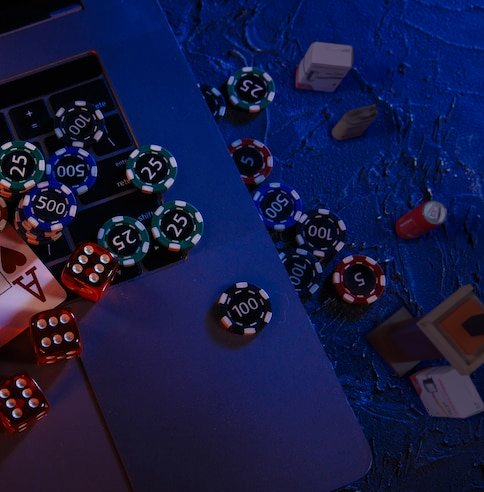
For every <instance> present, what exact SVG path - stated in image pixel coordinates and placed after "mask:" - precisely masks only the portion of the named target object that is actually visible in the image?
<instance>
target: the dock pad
mask: <svg viewBox="0 0 484 492" xmlns="http://www.w3.org/2000/svg"><path fill="white" fill-rule="evenodd" d="M474 289H475V288H474V286H473V285H472V284H471V283H468V284H465V285H462V286H460V287H459V288H458V289H457V290H455V292H453V293H452V294H451V295H449V296H448V297H447V298H446V299H445V300H443V301H441V303H439V304H438V305H437V306H436V307H434V308H433V309H432V310H431V311H430V312H429V313H426V314H427V315H426V316H425V317H424V318H422V319H421V320H420V321H419V322H417V323H416V324H417V325H418V327H419V328H420V329H421V330H422V331H423V332H424V334H425V335H426V336H427V337H428V338H429V339H430V341H431V342H432V343H433V344H434V345H435V346H436V348H437V349H438V350H439V351H440V352H441V353H442V354H443V356H444V357H445V358H444V359H446V361H447V362H448V363H449V364H450V365H452V366H453V367H454V368H455V370H456V371H457V372H458V373H459V374H460V375H461V376H465V375H469V376H470V375H471V374H473V372H475V371H476V370H478V368H479V367H481V366H482V365H483V364H484V344H483V345H482V346H481V347H480V348H479V349H477V350H476V351H475V352H474V353H473V354H471V355H466V354H465V352H464V351H463V350H462V349H461V348H460V347H459V346H458V344H457V343H456V342H455V341H454V340H453V339H452V337H451V336H450V335H449V334H448V333H447V332H446V331H445V329H444V328H443V327H442V326H441V325H440V324H439V323H440V322H441V321H442V320H443V319H444V318H446V317H447V316H448V315H449V314H451V313H452V312H453V311H454V310H455V309H457V308H458V307H459V306H460V305H461V304H463V303H464V302H465V301H466V300H468V299H471V298H472V299H473V300H474V302H475V303H476V304H477V305H478V306H479V307H480V308H481V309H482V311H483V312H484V303H483V302H482V301H481V300H480V299H479V297H477V296H476V294H475V293H474V292H473V290H474Z"/></svg>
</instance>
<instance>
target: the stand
mask: <svg viewBox="0 0 484 492" xmlns="http://www.w3.org/2000/svg"><path fill="white" fill-rule="evenodd" d="M427 314H428V313H426V314H422V315H418V316H413V315H412V314H411V313H410V312H409V310H408V309H407V308H406V307H405V306H401V307H399V308H398V309H397V310H396V311H395V312H393V313H392V314H390V315H389V316H388V317H386V319H384V320H383V321H382V322H381V323H380V324H378V325H377V326H376V327H375V328H373V329H372V330H370V332H368V333H367V334H366V335H365V336H364V339H366V341H367V342H368V343H369V344H370V345H371V346H372V347H373V349H374V350H375V351H376V353H378V355H379V356H380V357H381V358H382V360H383V361H384V362H385V364H387V366H388V367H389V368H390V369H391V371H392V372H393V373H394V374H395V375H396V376H397V378H402V377H403V376H405V375H406V374H407V373H409V372H410V371H411V370H412V369H413V368H414V367H416V366H417V365H418V364H419V363H421V362H422V361H429V360H437V359H438V360H439V359H446V358H445V357H444V356H443V354H442V353H441V352H440V351H439V350H438V349H437V348H436V346H435V345H434V344H433V343H432V342H431V341H430V339H429V338H428V337H427V336H426V335H425V334H424V332H423V331H422V330H421V329H420V328H419V327H418V325H417V324H416V323H417V322H419V321H420V320H421V319H422V318H424V317H425V316H426V315H427Z"/></svg>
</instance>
